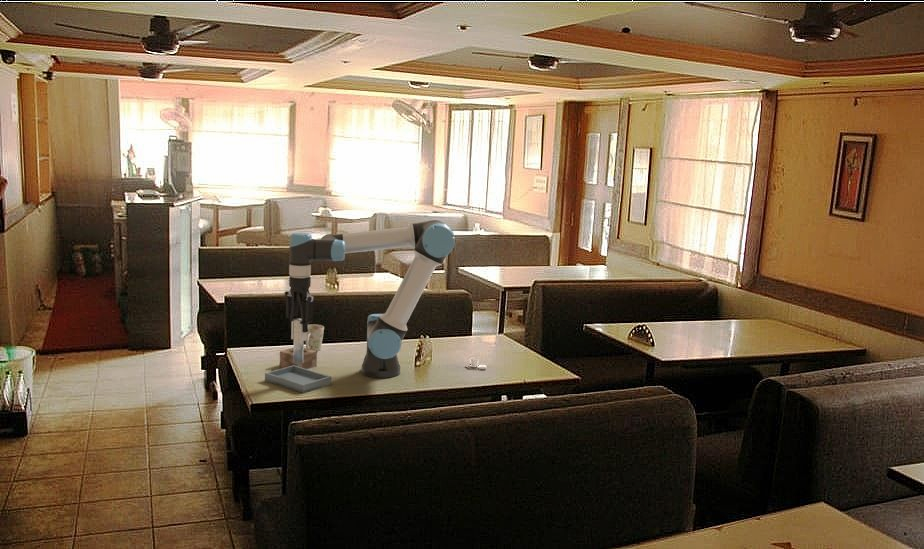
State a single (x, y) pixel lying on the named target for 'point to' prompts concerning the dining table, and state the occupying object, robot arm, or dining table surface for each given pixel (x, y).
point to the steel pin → (298, 343)
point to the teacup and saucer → (476, 363)
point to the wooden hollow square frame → (308, 358)
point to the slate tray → (298, 379)
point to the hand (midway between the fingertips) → (298, 339)
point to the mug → (314, 337)
